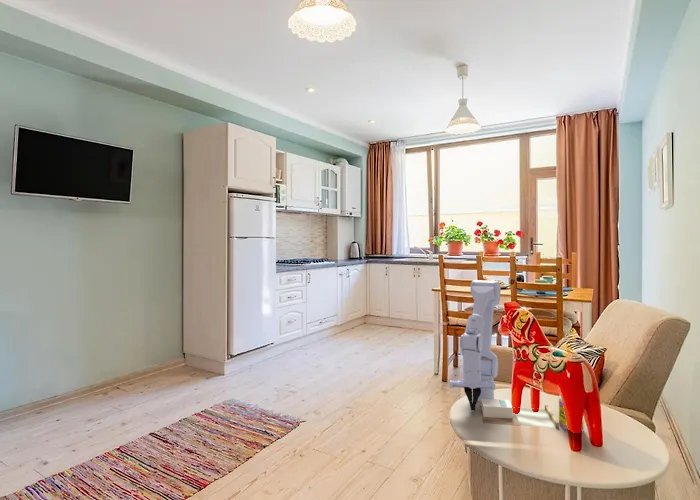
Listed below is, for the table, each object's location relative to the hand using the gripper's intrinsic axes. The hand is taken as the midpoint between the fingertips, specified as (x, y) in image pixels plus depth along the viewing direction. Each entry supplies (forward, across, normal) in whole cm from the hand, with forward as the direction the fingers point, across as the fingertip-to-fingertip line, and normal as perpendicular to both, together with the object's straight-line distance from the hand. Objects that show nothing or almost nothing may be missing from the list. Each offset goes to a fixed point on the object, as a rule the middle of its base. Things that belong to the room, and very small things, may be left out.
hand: (472, 409), depth 139 cm
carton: (+1, +8, 0) cm, 8 cm away
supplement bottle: (+2, +29, -6) cm, 29 cm away
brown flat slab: (+2, +14, -1) cm, 14 cm away
